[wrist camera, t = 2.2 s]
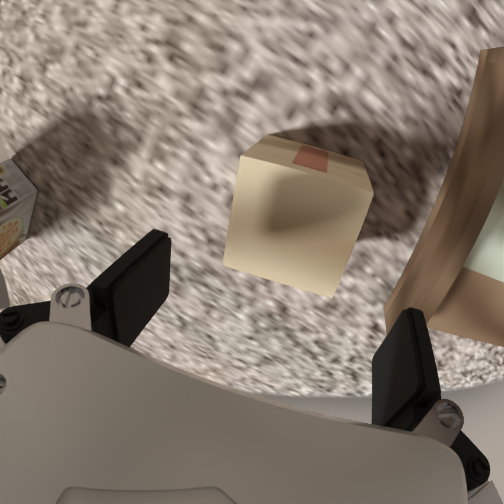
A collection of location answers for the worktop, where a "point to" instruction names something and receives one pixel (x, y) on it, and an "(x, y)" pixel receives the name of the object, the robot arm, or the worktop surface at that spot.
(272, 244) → the maple cube
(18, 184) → the coffee box
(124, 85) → the worktop surface
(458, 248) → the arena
